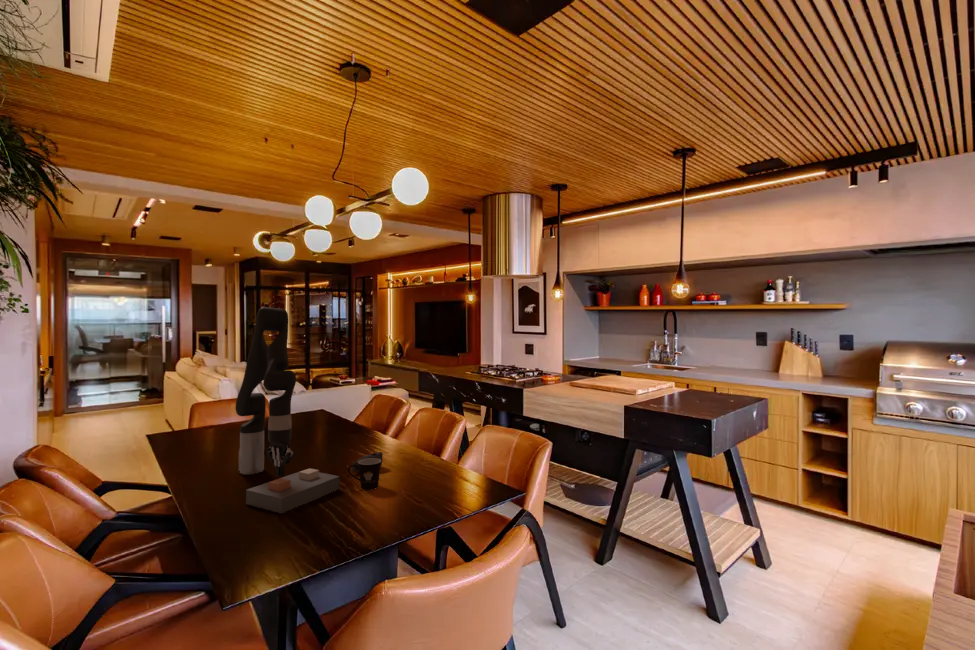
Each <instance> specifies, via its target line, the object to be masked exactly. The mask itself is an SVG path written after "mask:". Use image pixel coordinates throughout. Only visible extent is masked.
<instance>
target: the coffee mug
mask: <svg viewBox="0 0 975 650" xmlns="http://www.w3.org/2000/svg"><path fill="white" fill-rule="evenodd" d="M380 465H381V460H380V459H376V458H368V459H362V460H360V461H358V466H356V465H353V464H352V465H350V466H349V467H348V469H347V472H348V474H349V475H350V476H351V477H353V478H354V479H356V480H357V481H359V483H360V489H361V488H362V489H361V490H363V489H364V490H363V491H373V490H375V488H376V489H378V488H377V487H379V481H380V472H381V468H380ZM353 466H354V467H356V468H357V469H358V470H359V473H358V474H359V477H358V476H356V475H354V474H353V473H352V472H351V471H350V469H351V468H352V467H353ZM381 466H382V465H381ZM372 489H373V490H372Z"/></svg>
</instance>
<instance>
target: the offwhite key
mask: <svg viewBox="0 0 975 650" xmlns="http://www.w3.org/2000/svg"><path fill="white" fill-rule="evenodd" d="M298 472H299V479H301V480H306V481H310V480H312V479H315V478H318V477H319V472H320V470H319V469H315V468H311V467H310V468H307V469H304V470H301V471H298Z"/></svg>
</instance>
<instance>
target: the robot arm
mask: <svg viewBox="0 0 975 650" xmlns="http://www.w3.org/2000/svg"><path fill="white" fill-rule="evenodd" d="M256 313H257V314H256V319H255V325H254V329H253V330H254V331H253V337H252V342H251V345H250V349H249V353H248V357H247V361H246V364H245V365H246V366H245V371H244V375H243V378H242V382H241V385H240V389H239V391H238V394H237V398H236V401H235V413H236V415H238V416H239V417H250V416H252V417H251V418H250V419H249V420H248V421H246V422H244V423H242V424H241V425H239V426H240V427H239V449H238V472H239V471H240V472H239V474H241V473H242V474H241V475H255V473H256V474H259V472H260V473H262V472H264V471H263V470H265V453H266V455H267V458H268V459H269V461H270V463H271V464H273V466H274V467H275V471H274V473H275V477H278V478H282V477H285V476H284V475H285V466H286V465H289V464H290V463H291V461H292V459H293V457H294V456H295V455H296V451H294V450H293V451H292V450H291V443H290V441H291V440H292V414H291V412H292V408H291V407H292V405H291V404H292V396H293V393H294V389H295V386H296V382H297V375H296V373H295V371H293V370H288V368H289V364H290V363H289V355H288V337H289V336H288V335H289V333H288V332H289V314H288V312H287V310H286V309H283V308H276V307H270V306H268V307H267V306H261V307H260V308H259V309H258V312H256ZM265 331H266V332H276V333H277V332H278V334H277V336H276V337H275V338H274V339H273V340H272V341H271V342H270V344H269V346H268V344H267V341H266V340H265V335H264V332H265ZM262 382H263V388H265V390H266V391H268V392H279V391H284V392H283V394H282V395H279V396H276V397H273V398H271V399H270V400H269V403H268V421H267V422H268V425H267V426H268V428H267V440H268V442H269V447H267V448H265V424H266V408H267V407H266V405H267V403H266V402H267V401H266V397H265V395H264V394H263V393H262V392H254V391H255V389H256V388H257V387H258V386H259V385H261V383H262Z"/></svg>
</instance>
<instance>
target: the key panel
mask: <svg viewBox="0 0 975 650" xmlns="http://www.w3.org/2000/svg"><path fill="white" fill-rule="evenodd" d="M299 472H300V471H298V472H294V473H291V474H288V475H286V476H282V477H281V478H283V479H287V480H291V486H290V488H288V489H285V490H283V491H280V492H276V491H272V490H269V482H270V481H268V482H264V483H262V484H260V485H256V486H253V487H250V488H248V489H247V488H246V489H245V504H246V505H248V506H252V507H255V508H259V509H262V508H263V510H267V511H270V510H271V512H274V513H277V512H278V513H277V514H281V513H282V514H284V513H287V512H289V511H291V509H292V510H293V508H294V509H296V508H298V506H299V507H301V506H303V504H304V505H306V504H308V503H310V502H312V501H315V500H318V499H320V498H322V496H323V497H325V496H327V495H329V493H330V494H331V492H332V493H334V492H337V491H339V490H340V476H339V475H334V474H331V473H330V474H329V473H325V472H320V471H319V477H318V478H315V479H312V480H310V481H306V480H301V479H299ZM338 489H339V490H338ZM336 490H337V491H336ZM333 491H334V492H333ZM326 494H327V495H326ZM324 495H325V496H324ZM300 505H301V506H300ZM295 507H296V508H295ZM288 510H289V511H288ZM286 511H287V512H286Z"/></svg>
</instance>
